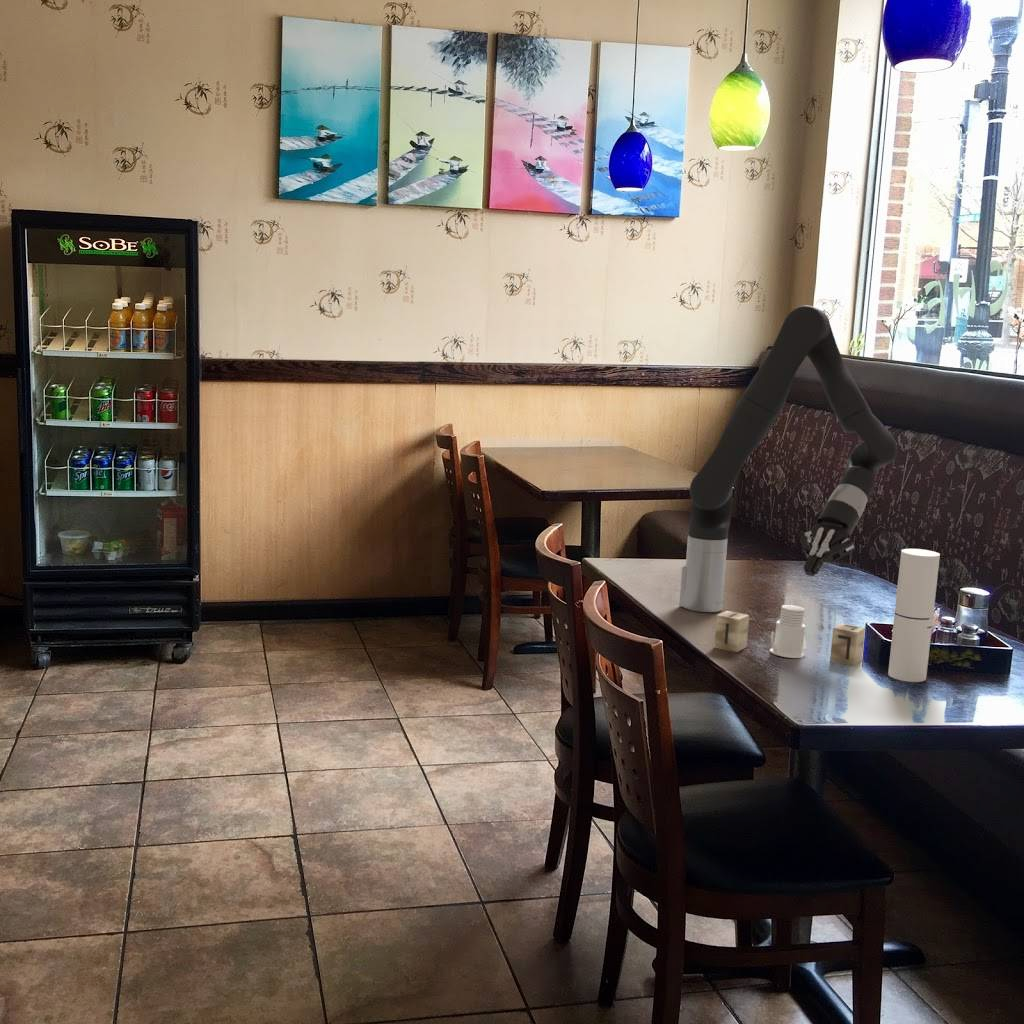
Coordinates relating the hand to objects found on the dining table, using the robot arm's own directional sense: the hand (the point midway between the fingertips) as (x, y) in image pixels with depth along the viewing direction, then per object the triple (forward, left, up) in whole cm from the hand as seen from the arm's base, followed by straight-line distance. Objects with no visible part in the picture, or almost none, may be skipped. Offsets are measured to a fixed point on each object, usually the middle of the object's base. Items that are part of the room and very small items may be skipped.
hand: (808, 573), depth 247 cm
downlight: (-1, -5, -17) cm, 17 cm away
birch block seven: (+10, -1, -16) cm, 19 cm away
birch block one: (-12, -9, -16) cm, 22 cm away
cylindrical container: (+23, -3, -17) cm, 28 cm away
